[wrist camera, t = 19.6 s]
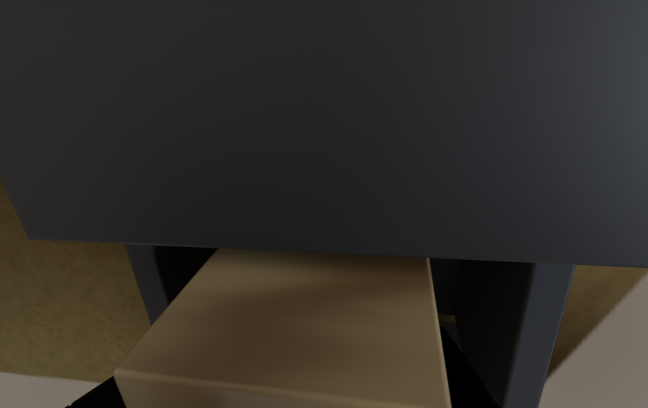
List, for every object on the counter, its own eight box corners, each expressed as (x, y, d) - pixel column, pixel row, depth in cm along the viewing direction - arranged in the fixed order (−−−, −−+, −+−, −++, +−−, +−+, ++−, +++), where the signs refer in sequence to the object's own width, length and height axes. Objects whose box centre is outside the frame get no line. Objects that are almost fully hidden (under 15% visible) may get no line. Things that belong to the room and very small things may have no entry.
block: (425, 228, 8) (454, 414, 4) (416, 372, 10) (430, 600, 6) (238, 222, 9) (107, 372, 5) (261, 356, 11) (181, 544, 7)
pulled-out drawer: (469, 403, 19) (511, 612, 12) (266, 379, 21) (203, 545, 14) (525, 37, 12) (707, 32, 5) (210, 57, 14) (27, 74, 7)
